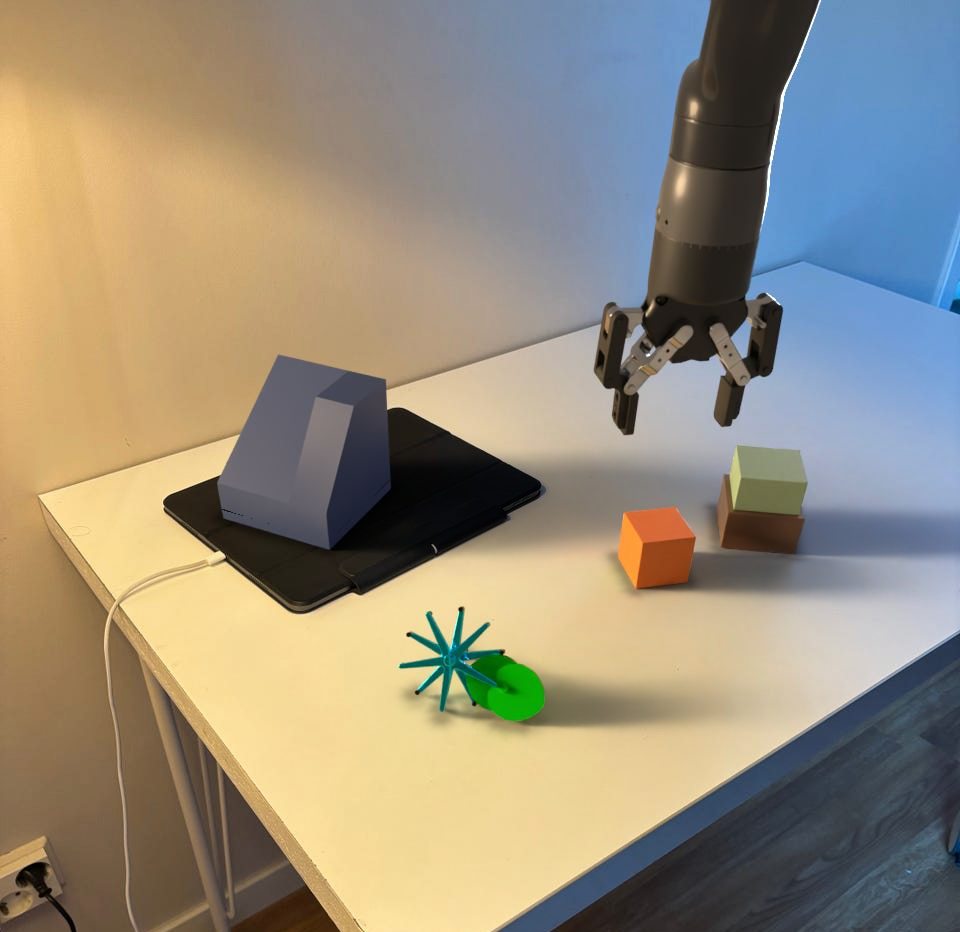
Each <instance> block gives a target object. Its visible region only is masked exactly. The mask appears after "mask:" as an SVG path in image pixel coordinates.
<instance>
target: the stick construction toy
mask: <svg viewBox="0 0 960 932" xmlns="http://www.w3.org/2000/svg"><path fill="white" fill-rule="evenodd" d="M457 611H458V614H457V616H456V622H455V627H454V631H453V635H452V636H453V637H452V640H451V643H450V644H451V645H450V646H449V644H448V642H447V640H446V638H445V636H444V635H443V633H442V631H441V629H440V627H439V625H438V623H437V622H436V620H435V618H434V616H433V614H434V613H433V612H432V610H429V611H426V612H425V614H424V615H425V617H426V618H425V619H426V620H427V622H428V624H429V627H430V629H431V632H432V634H433V636H434V639H435V641H436V642H434V641H432V640H431V639H428V638H427V637H424V636H422V635H420V634H418V633H416V632H414V631H411V630H410V631H407V632H406V633H405V636H406V638H411V639H412V640H415V641H416V642H418V643H420V644H421V645H422V646H424V647H425V648H427V649H429V650H430V651H433V652H434V653H435V654H437V655H439V656H435V657H430V658H425V659H419V660H413V661H407V662H401V663H399V664H398V669H400V670H403V669H404V670H405V669H419V668H431V667H432V668H433V667H437V668H436V669H435V670H434V671H433V672H432V673H431V674H430V675H429V676H428V677H427V678H426V679H425V681H423V683H422V684H420V686H419V687H418V688H417V689H416V690H414V694H415V696H419V695H420V694H421V693H423V692H424V691H425V690H426V689H428V688H429V687H430V686H431V685H432V684H434V683H435V681H436V680H438V679H439V678H440V677H441V676H442V683H441V692H440V698H439V699H440V700H439V706H438V707H439V709H438V710H439V712H441V713H443V712H445V711H446V710H447V702H448V697H449V692H450V688H451V683H452V678H453V674H454V672H455V674H456V676H457V678H458V679H459V681H460V682H461V685H462V686H463V688H464V691H465V692H466V693H467V696H468V698H469V699H470V701H471V706H472V707H476V706H477V705H478V706H480V707H481V708H483V709H485V710H487V711H490V712H493V714H495V716H497V717H499V718H500V719H503V720H504V721H505V720H506V721H510V722H520V721H525V720H528V719H531V718H532V717H534V716H535V715H537V714H538V713H539V712H541V710H542V709H543V708H544V707H545V704H546V692H545V691H546V690H545V688H544V683H543V681H542V680H541V678H540V676H539V674H537V672H536V671H535V670H534V669H532V668H531V667H529V666H527V665H525V664H523V663H518V662H517V661H516V660H515V659H513V657H510V656H509V655H505V654H506V649H504V648H498V649H497V648H496V649H484V650H472V651H471V650H470V647H471V646H472V645H473V644H474V643H475V642H476V641H477V640H478V639H479V638H480V637H481V636H482V635H483V633H485V632H486V631H487V629H488V628H489V627H490V626H491V622H489V621H486V622H484V623H483V624H481V626H480V627H478V628H477V629H476V630H475V631H474V632H473V633H472V634H470V636H468V637H467V638H466V639H465V640H463V642H462V636H463V629H464V619H465V612H466V607H465V606H464V605H463V606H462V605H461V606H459V607H458V608H457ZM469 650H470V651H469ZM473 660H475V661H474V662H472V663H471V664H468V663H466V662H467V661H473Z"/></svg>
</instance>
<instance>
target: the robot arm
mask: <svg viewBox="0 0 960 932" xmlns="http://www.w3.org/2000/svg"><path fill="white" fill-rule="evenodd" d="M708 1H710V4H709V9H708V15H707V19H706V20H707V21H706V25H705V28H704V33H703V38H702V42H701V47H700V51H699V54H698V55H699V56H698V58H696V59H694V60H692V61H691V62H690V63H689V64H688V65H687V66H686V68H685V69H684V71H683V73H682V74H681V75H682V76H681V78H680V82H679V85H678V89H677V94H676V100H675V106H674V115H673V122H672V127H671V128H672V129H671V137H670V142H669V143H670V144H669V151H668V155H667V161H666V164H665V169H664V172H663V176H662V179H661V184H660V189H659V194H658V195H659V196H658V203H657V205H656V208H655V216H654V219H655V224H654V232H653V240H652V247H651V253H650V254H651V255H650V263H649V270H648V275H647V276H648V277H647V291H646V292H647V293H646V296H645V298H644V300H643V302H642V304H641V305H640V307H620V305H618V303H617V302H614V301H610V302H608V303H606V304H605V306H604V307H603V310H602V317H601V323H600V327H599V328H600V329H599V334H598V335H599V336H598V341H597V346H596V351H595V359H594V365H593V373H594V375H595V376H596V378H597V379H598V380H599V382H600V383H601V385H602V386H603V388H605V389H606V390H612V389H614V394H613V401H612V410H611V418H612V422H613V423H614V424H615V426H616V427H617V429H619V431H620V432H621V433H622V436H633V435H634V433H635V427H636V421H637V413H638V407H639V401H640V394H639V392H638V391H639V390H640V389H641V387H642V386H643V385H644V384H645V383H646V382H647V380H648V379H649V378H650V377H651V376H656V375H657V374H658V373H659V372H660V371H661V370H662V368H663V367H664V366H665V365H666V364H667V363H668V362H670V363H671V364H682V363H685V362H688V361H695V362H710V360H711V359H710V358H712V357H714V356H715V357H716V358H717V359H718V362H719V363H720V365H721V366H722V368H723V369H724V371H725V374H724V375H720V378H719V383H718V388H717V394H716V399H715V403H714V408H713V418H714V420H715V421H716V423H717V424H718V425H719V426H720V427H721V428H727V427H729V428H730V427H731V426H732V425H733V420H737V419H738V417H739V415H740V411H741V407H742V403H743V399H744V395H745V394H744V393H745V390H746V389H745V388H746V386H747V385H748V384H749V383H750V382H751V380H753V379H755V378H758V377H759V376H760V377H761V378H767V377H769V376H770V375H771V374H772V373H773V371H774V366H775V360H776V356H777V355H776V354H777V349H778V343H779V337H780V333H781V332H780V331H781V325H782V320H783V314H784V307H783V305H781V304H780V303H779V302H778V301H777V300H776V299H775V298H774V297H772V296H771V295H770V294H769V293H768V292H761V293H760V294H758V295H757V296H756V298H755V299H749V300H747V299H746V295H748V292H749V291H750V288H751V282H752V279H753V278H752V277H753V272H754V267H755V262H756V257H757V254H758V249H759V243H760V238H761V233H762V228H763V224H764V218H765V214H766V209H767V204H768V198H769V188H770V176H771V168H772V167H771V166H772V161H773V156H774V150H775V147H776V146H775V145H776V141H777V136H778V132H779V131H778V130H779V126H780V121H781V114H782V110H783V103H784V96H785V92H786V89H787V87H788V84H789V82H790V80H791V78H792V75H793V73H794V71H795V69H796V67H797V64H798V62H799V59H800V58H801V54H802V52H803V49H804V46H805V44H806V41H807V39H808V36H809V33H810V30H811V28H812V25H813V23H814V20H815V18H816V14H817V12H818V9H819V6H820V3H821V0H708ZM746 320H747V322H748V324H749V325H750V332H749V339H748V346H747V352H746V357H742V356H741V354H740V352H739V350H738V349H737V346H736V345H735V343H734V341H733V340H732V337H733V336H734V335H735V334H736V332H737V331H738V330H739V329H740V328H741V326H742V325H743V324H744V323H745V322H746ZM639 325H641V327H642V329H643V330H644V332H643V333H642V334H641V335H640V337H639V338H638V339H637V340H636V341H635V343H634V344H633V345H632V346H631V348H630V351H629V355H628V356H627V357H626V358H625V359H624V361H623V356H624V350H625V344H626V339H631V338H632V336H633V333H634V330H635V328H636V327H638V326H639ZM653 348H654V349H655V350H654V351H653V352H652V353H651V351H652V349H653ZM622 361H623V362H622Z"/></svg>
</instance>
